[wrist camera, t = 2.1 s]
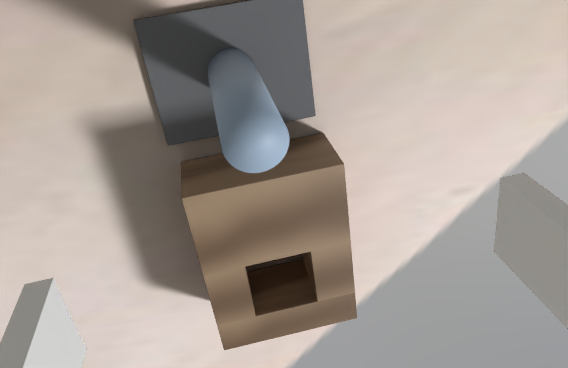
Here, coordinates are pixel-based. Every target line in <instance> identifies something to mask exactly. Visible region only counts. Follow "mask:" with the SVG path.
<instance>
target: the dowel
mask: <svg viewBox="0 0 568 368" xmlns="http://www.w3.org/2000/svg"><path fill="white" fill-rule="evenodd" d="M208 79H209V85H210V90H211V95H212V100H213V106H214V111H215V116H216V121H217V127H218V132H219V137H220V142H221V148H222V152H223V154H224V157H225V158H226V160H227V161H228V162H229V163H230V164H231V165H232V166H233V167H234V168H236V169H238V170H240V171H243V172H247V173H261V172H265V171H267V170H270V169H272V168H273V167H275V166H276V165H277V164H279V163H280V162H281V160H282V159H283V158H284V156H285V155H286V153H287V150H288V147H289V132H288V129H287V127H286V125H285V123H284V121H283V119H282V117H281V115H280V113H279V111H278V109H277V107H276V106H275V104H274V102H273V100H272V98H271V96H270V94H269V92H268V90H267V88H266V86H265V84H264V82H263V80H262V78H261V76H260V74H259V72H258V70H257V68H256V66H255V64H254V62H253V60H252V59H251V57H250V56H249V55H248V54H247V53H245V52H244V51H242V50H239V49H235V48H228V49H224V50H221V51H220V52H218V53H217V54H215V55H214V56H213V58H212V59H211V61H210V63H209V65H208Z"/></svg>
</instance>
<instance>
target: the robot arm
mask: <svg viewBox="0 0 568 368" xmlns="http://www.w3.org/2000/svg"><path fill="white" fill-rule="evenodd" d="M494 252H495V253H496V254H497V255H498V256H499V257H500V258H501V259H502V260H503V262H504V263H505V264H506V265H507V266H508V267H509V268H510V269H511V270H512V271H513V272H514V273H515V274H516V275H517V276H518V277H519V278H520V279H521V280H522V282H523V283H524V284H526V286H527V287H528V288H529V289H530V290H531V291H532V292H533V293H534V294H535V295H536V296H537V297H538V298H539V299H540V300H541V301H542V303H544V305H545V306H546V307H547V308H548V309H549V310H550V311H551V312H552V313H553V314H554V315H555V316H556V317H557V318H558V319H559V320H560V321H561V323H562V324H563V325H564V326H565V327H566V328H567V329H568V205H567V204H566V203H565V202H563V201H562V200H560V199H559V198H558V197H556V196H555V195H553V194H552V193H551V192H550V191H548V190H547V189H545V188H544V187H543V186H541V185H540V184H539V183H537V182H536V181H534V180H533V179H532V178H530V177H529V176H528V175H526V174H525V173H521V174H517V175H512V176H507V177H503V178H500V189H499V199H498V211H497V222H496V233H495V244H494ZM86 349H87V348H86V346H85V344H84V342H83V340H82V338H81V336H80V334H79V331H78V329H77V327H76V325H75V323H74V321H73V319H72V317H71V314H70V312H69V310H68V308H67V306H66V304H65V302H64V300H63V297H62V295H61V293H60V291H59V289H58V287H57V285H56V283H55V280H54V278H51V279H46V280H42V281H37V282H33V283H28V284H25V285H24V287H23V289H22V292H21V294H20V297H19V299H18V302H17V304H16V306H15V309H14V311H13V314H12V316H11V319H10V321H9V323H8V326H7V328H6V331H5V333H4V336H3V338H2V340H1V343H0V368H83V363H84V358H85V354H86Z"/></svg>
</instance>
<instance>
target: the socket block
mask: <svg viewBox="0 0 568 368" xmlns="http://www.w3.org/2000/svg"><path fill="white" fill-rule="evenodd" d="M181 184H182V201H183V205H184V208H185V212H186V215H187V219H188V223H189V226H190V230H191V233H192V237H193V241H194V244H195V248H196V251H197V255H198V258H199V262H200V266H201V269H202V273H203V276H204V280H205V283H206V287H207V291H208V294H209V298H210V301H211V305H212V309H213V312H214V316H215V319H216V323H217V326H218V330H219V334H220V337H221V341H222V344H223V348H224V350H227V349H231V348H236V347H240V346H244V345H248V344H252V343H256V342H260V341H264V340H268V339H273V338H277V337H281V336H285V335H289V334H293V333H297V332H301V331H305V330H310V329H314V328H318V327H322V326H326V325H330V324H334V323H338V322H342V321H347V320H350V319H355V318H357V312H356V300H355V288H354V276H353V265H352V253H351V241H350V229H349V217H348V205H347V194H346V182H345V170H344V163H343V162H342V160H341V159H340V157H339V156H338V154H337V153H336V151H335V150H334V148H333V147H332V145H331V144H330V142H329V141H328V139H327V138H326V136H325V135H324V133H320V134H315V135H311V136H306V137H301V138H296V139H291V140H289V147H288V150H287V153H286V155H285V156H284V158H283V159H282V160H281V162H280V163H279V164H277V165H276V166H275V167H273V168H272V169H270V170H267V171H265V172H261V173H247V172H243V171H240V170H238V169H236V168H234V167H233V166H232V165H231V164H230V163H229V162H228V161H227V160H226V158H225V157H224V154H218V155H213V156H208V157H203V158H198V159H193V160H188V161H184V162H181ZM298 254H302V260H297V261H293V262H288V263H284V264H280V265H275V266H271V267H267V268H262V269H258V270H254V271H249V272H247V269H246V266H250V265H254V264H258V263H263V262H267V261H272V260H276V259H280V258H285V257H289V256H293V255H298Z"/></svg>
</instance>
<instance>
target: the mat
mask: <svg viewBox="0 0 568 368" xmlns="http://www.w3.org/2000/svg"><path fill="white" fill-rule="evenodd" d="M134 25H135V28H136V32H137V36H138V39H139V43H140V46H141V50H142V54H143V57H144V61H145V64H146V68H147V72H148V75H149V79H150V82H151V86H152V90H153V93H154V97H155V100H156V104H157V108H158V111H159V115H160V118H161V122H162V126H163V129H164V133H165V136H166V140H167V143H168V146H169V145H174V144H179V143H184V142H189V141H194V140H199V139H204V138H209V137H214V136H219V132H218V127H217V121H216V116H215V111H214V106H213V100H212V95H211V90H210V85H209V79H208V65H209V63H210V61H211V59H212V58H213V56H214V55H215V54H217V53H218V52H220V51H221V50H224V49H228V48H235V49H239V50H242V51H244V52H245V53H247V54H248V55H249V56H250V57H251V59H252V60H253V62H254V64H255V66H256V68H257V70H258V72H259V74H260V76H261V78H262V80H263V82H264V84H265V86H266V88H267V90H268V92H269V94H270V96H271V98H272V100H273V102H274V104H275V106H276V107H277V109H278V111H279V113H280V115H281V117H282V119H283V121H284V122H288V121H293V120H298V119H303V118H308V117H313V116H315V107H314V98H313V89H312V80H311V71H310V62H309V53H308V44H307V34H306V25H305V16H304V7H303V0H246V1H240V2H234V3H228V4H223V5H217V6H211V7H206V8H200V9H194V10H189V11H183V12H177V13H172V14H166V15H160V16H154V17H149V18H143V19H137V20H134Z"/></svg>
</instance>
